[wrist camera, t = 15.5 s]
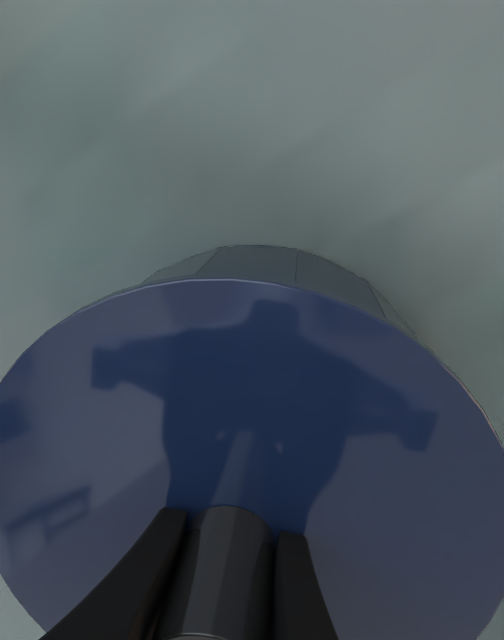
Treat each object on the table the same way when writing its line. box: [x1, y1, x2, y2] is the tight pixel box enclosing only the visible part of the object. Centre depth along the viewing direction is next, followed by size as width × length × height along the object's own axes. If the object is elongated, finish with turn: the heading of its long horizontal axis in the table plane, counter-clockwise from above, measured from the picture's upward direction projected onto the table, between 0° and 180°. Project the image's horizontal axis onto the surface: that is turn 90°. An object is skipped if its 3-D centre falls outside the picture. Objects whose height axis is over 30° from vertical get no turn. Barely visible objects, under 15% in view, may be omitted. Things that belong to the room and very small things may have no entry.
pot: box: [141, 245, 419, 340], centre depth 16 cm, size 13×13×6 cm
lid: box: [0, 273, 504, 640], centre depth 11 cm, size 14×14×4 cm
